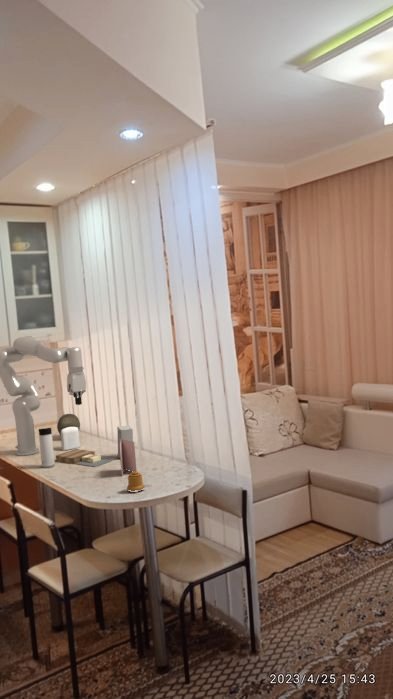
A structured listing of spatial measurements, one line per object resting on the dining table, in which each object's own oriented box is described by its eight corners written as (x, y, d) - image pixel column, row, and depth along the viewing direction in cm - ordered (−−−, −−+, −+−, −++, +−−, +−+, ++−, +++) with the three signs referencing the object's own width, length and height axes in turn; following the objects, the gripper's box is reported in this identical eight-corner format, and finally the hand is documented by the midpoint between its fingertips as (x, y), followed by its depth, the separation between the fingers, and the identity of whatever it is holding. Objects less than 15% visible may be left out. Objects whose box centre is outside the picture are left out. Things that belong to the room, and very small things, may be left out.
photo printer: (78, 446, 333) (76, 425, 332) (81, 447, 330) (79, 426, 329) (61, 449, 328) (59, 428, 327) (63, 451, 324) (61, 429, 323)
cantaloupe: (53, 441, 352) (51, 416, 351) (67, 435, 365) (64, 411, 364) (72, 441, 346) (70, 416, 345) (86, 436, 359) (84, 412, 358)
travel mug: (42, 469, 290) (38, 429, 288) (42, 465, 296) (38, 427, 295) (55, 467, 292) (51, 427, 290) (54, 464, 298) (51, 425, 296)
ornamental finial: (132, 487, 251) (148, 488, 248) (123, 492, 244) (139, 494, 241) (131, 468, 250) (146, 469, 247) (122, 474, 243) (138, 475, 240)
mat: (75, 464, 295) (75, 463, 295) (95, 457, 306) (95, 456, 306) (95, 467, 287) (95, 466, 287) (114, 459, 298) (114, 459, 298)
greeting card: (121, 469, 279) (119, 438, 278) (137, 468, 279) (135, 437, 278) (120, 476, 268) (117, 444, 266) (136, 475, 268) (134, 443, 267)
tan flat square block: (56, 461, 303) (55, 455, 303) (76, 454, 315) (75, 449, 314) (74, 464, 295) (74, 458, 295) (94, 457, 306) (94, 451, 306)
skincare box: (117, 456, 304) (115, 426, 303) (131, 454, 306) (128, 424, 305) (121, 460, 296) (119, 429, 295) (135, 458, 299) (132, 427, 297)
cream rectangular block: (82, 461, 298) (81, 456, 298) (89, 458, 303) (89, 454, 302) (93, 462, 293) (92, 458, 293) (100, 459, 298) (100, 455, 298)
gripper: (81, 368, 319) (84, 401, 321) (60, 372, 307) (63, 406, 309) (90, 368, 315) (93, 402, 316) (69, 372, 303) (73, 407, 304)
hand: (78, 404), depth 312 cm, fingers closed
